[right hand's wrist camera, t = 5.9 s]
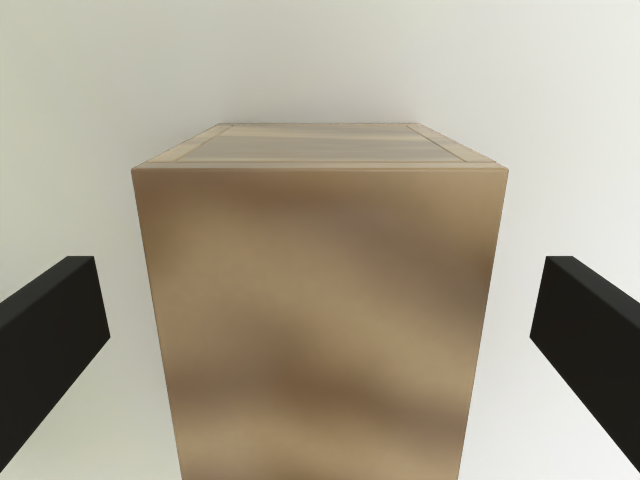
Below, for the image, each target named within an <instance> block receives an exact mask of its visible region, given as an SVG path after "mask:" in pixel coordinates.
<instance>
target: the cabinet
mask: <svg viewBox="0 0 640 480" xmlns="http://www.w3.org/2000/svg"><path fill="white" fill-rule="evenodd" d="M508 172H509V170H508V168H506V167H504V166H502V165H500V164H498V163H496V162H495V161H493V160H491V159H489V158H487V157H485V156H483V155H481V154H479V153H477V152H475V151H473V150H471V149H469V148H467V147H465V146H463V145H461V144H459V143H457V142H455V141H453V140H451V139H449V138H447V137H445V136H443V135H441V134H439V133H437V132H435V131H433V130H431V129H429V128H427V127H425V126H423V125H421V124H419V123H408V124H218V125H216V126H214V127H212V128H210V129H208V130H206V131H205V132H203V133H201V134H199V135H197V136H195V137H193V138H191V139H189V140H187V141H185V142H183V143H181V144H179V145H177V146H175V147H173V148H171V149H169V150H167V151H165V152H164V153H162V154H160V155H158V156H156V157H154V158H152V159H150V160H148V161H146V162H144V163H142V164H140V165H138V166H136V167H134V168H132V169H131V173H132V180H133V186H134V192H135V198H136V204H137V210H138V216H139V222H140V228H141V234H142V240H143V246H144V252H145V258H146V264H147V270H148V276H149V282H150V288H151V294H152V300H153V306H154V312H155V319H156V325H157V331H158V337H159V343H160V349H161V355H162V361H163V367H164V373H165V379H166V385H167V391H168V397H169V403H170V409H171V415H172V421H173V427H174V433H175V439H176V445H177V451H178V458H179V464H180V470H181V476H182V480H458V474H459V468H460V462H461V456H462V450H463V444H464V438H465V432H466V426H467V420H468V414H469V408H470V402H471V396H472V390H473V383H474V377H475V371H476V365H477V359H478V353H479V347H480V341H481V335H482V329H483V323H484V317H485V311H486V305H487V299H488V293H489V287H490V281H491V275H492V268H493V262H494V256H495V250H496V244H497V238H498V232H499V226H500V220H501V214H502V208H503V202H504V196H505V190H506V184H507V178H508Z"/></svg>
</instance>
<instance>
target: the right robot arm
mask: <svg viewBox="0 0 640 480" xmlns="http://www.w3.org/2000/svg"><path fill="white" fill-rule="evenodd" d="M109 338H110V332H109V327H108V323H107V318H106V313H105V308H104V303H103V298H102V294H101V289H100V284H99V279H98V274H97V269H96V264H95V260H94V256H67V257H65V258H64V259H63V260H61V261H60V262H58V263H57V264H55V265H54V266H53V267H51V268H50V269H48V270H47V271H45V272H44V273H43V274H41V275H40V276H38V277H37V278H35V279H34V280H33V281H31V282H30V283H28V284H27V285H26V286H24V287H23V288H21V289H20V290H18V291H17V292H16V293H14V294H13V295H11V296H10V297H8V298H7V299H6V300H4V301H3V302H1V303H0V473H1V472H2V470H3V469H4V468H5V467H6V465H7V464H8V463H9V462H10V460H11V459H12V458H13V457H14V455H15V454H16V453H17V452H18V451H19V449H20V448H21V447H22V446H23V444H24V443H25V442H26V441H27V439H28V438H29V437H30V436H31V435H32V433H33V432H34V431H35V430H36V428H37V427H38V426H39V425H40V423H41V422H42V421H43V420H44V419H45V417H46V416H47V415H48V414H49V412H50V411H51V410H52V409H53V407H54V406H55V405H56V404H57V403H58V401H59V400H60V399H61V398H62V396H63V395H64V394H65V393H66V391H67V390H68V389H69V388H70V387H71V385H72V384H73V383H74V382H75V380H76V379H77V378H78V377H79V375H80V374H81V373H82V372H83V370H84V369H85V368H86V367H87V366H88V364H89V363H90V362H91V361H92V359H93V358H94V357H95V356H96V354H97V353H98V352H99V351H100V350H101V348H102V347H103V346H104V345H105V343H106V342H107V341H108V340H109ZM530 338H531V340H532V341H533V342H534V343H535V345H536V346H537V347H538V348H539V350H540V351H541V352H542V353H543V354H544V356H545V357H546V358H547V359H548V361H549V362H550V363H551V364H552V366H553V367H554V368H555V369H556V370H557V372H558V373H559V374H560V375H561V377H562V378H563V379H564V380H565V382H566V383H567V384H568V385H569V387H570V388H571V389H572V390H573V391H574V393H575V394H576V395H577V396H578V398H579V399H580V400H581V401H582V403H583V404H584V405H585V406H586V407H587V409H588V410H589V411H590V412H591V414H592V415H593V416H594V417H595V419H596V420H597V421H598V422H599V423H600V425H601V426H602V427H603V428H604V430H605V431H606V432H607V433H608V435H609V436H610V437H611V438H612V439H613V441H614V442H615V443H616V444H617V446H618V447H619V448H620V449H621V451H622V452H623V453H624V454H625V455H626V457H627V458H628V459H629V460H630V462H631V463H632V464H633V465H634V467H635V468H636V469H637V470H638V472H639V473H640V303H639V302H637V301H636V300H634V299H633V298H632V297H630V296H629V295H627V294H626V293H624V292H623V291H622V290H620V289H619V288H617V287H616V286H614V285H613V284H612V283H610V282H609V281H607V280H606V279H605V278H603V277H602V276H600V275H599V274H597V273H596V272H595V271H593V270H592V269H590V268H589V267H587V266H586V265H585V264H583V263H582V262H580V261H579V260H577V259H576V258H575V257H573V256H546V260H545V264H544V269H543V274H542V279H541V284H540V289H539V294H538V298H537V303H536V308H535V313H534V318H533V323H532V327H531V332H530Z"/></svg>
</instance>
